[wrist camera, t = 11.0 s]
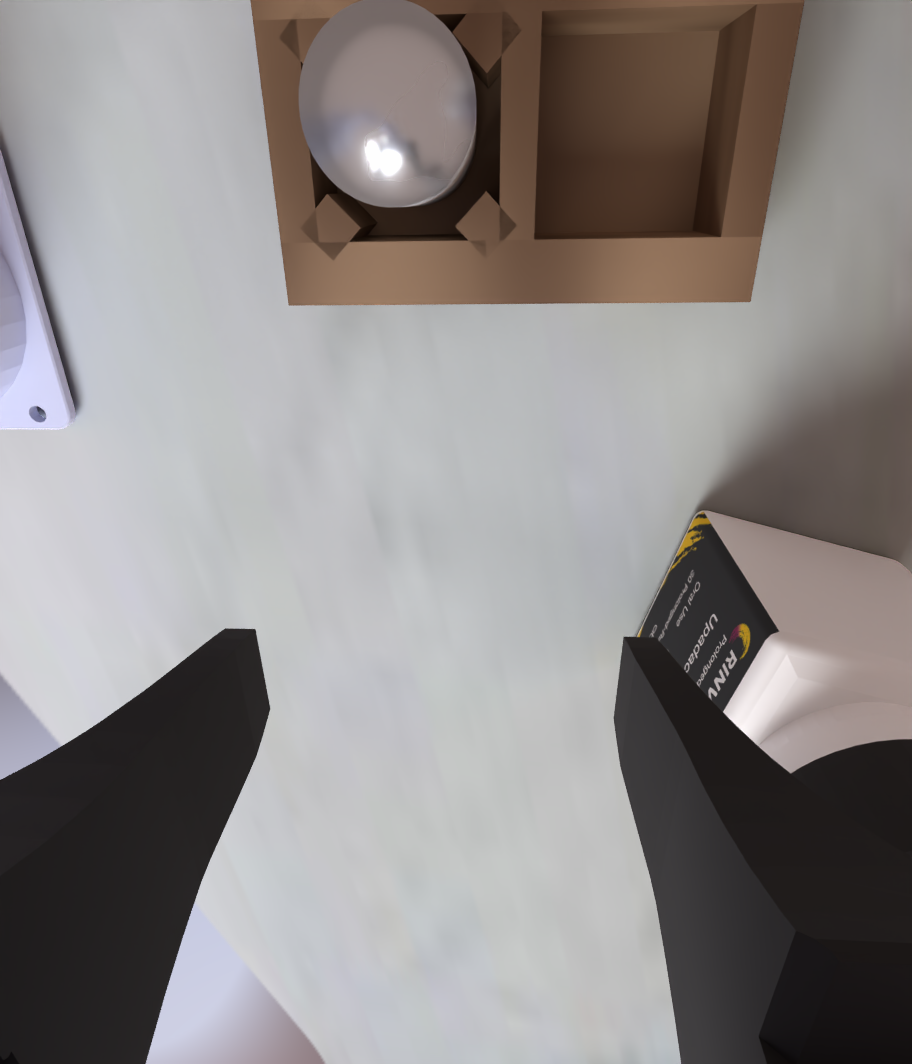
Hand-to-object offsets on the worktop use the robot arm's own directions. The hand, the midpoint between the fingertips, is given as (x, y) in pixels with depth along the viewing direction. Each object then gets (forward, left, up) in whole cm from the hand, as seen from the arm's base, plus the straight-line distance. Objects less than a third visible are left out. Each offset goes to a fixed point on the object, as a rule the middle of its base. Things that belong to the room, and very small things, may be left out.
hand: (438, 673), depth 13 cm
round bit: (-1, +10, -9) cm, 13 cm away
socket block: (+2, +10, -9) cm, 13 cm away
